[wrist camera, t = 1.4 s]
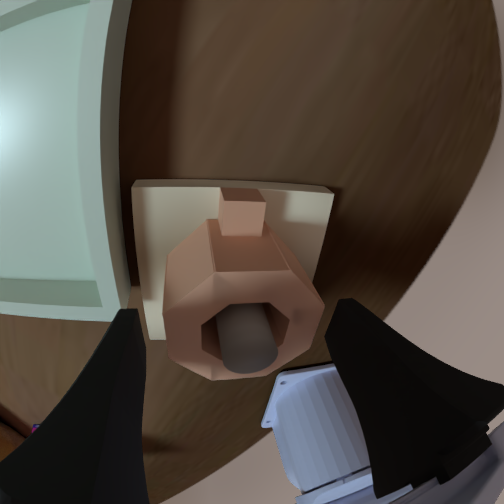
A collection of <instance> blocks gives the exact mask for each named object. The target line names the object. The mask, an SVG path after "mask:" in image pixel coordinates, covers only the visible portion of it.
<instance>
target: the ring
mask: <svg viewBox="0 0 504 504" xmlns="http://www.w3.org/2000/svg"><path fill="white" fill-rule="evenodd" d="M265 208H266V201H265V199H264V198H263V196H262V195H261V194H260V192H259V191H258V189H252V188H223V187H220V196H219V210H218V219H206V221H205V222H204V223H202V224H201V225H200V226H199V227H198V228H197V229H196V230H194V231H193V232H192V233H191V234H190V235H189V236H188V237H187V238H186V239H184V240H183V241H182V242H181V243H180V244H179V245H178V246H177V247H176V248H174V249H173V250H172V251H171V252H170V253H169V254H167V259H166V269H165V281H164V293H163V308H162V316H163V321H164V328H165V336H166V342H167V349H168V358H169V359H171V360H173V361H174V362H176V363H178V364H180V365H182V366H184V367H186V368H188V369H190V370H192V371H194V372H196V373H198V374H200V375H202V376H204V377H206V378H208V379H210V380H212V381H213V380H225V379H238V378H249V377H259V376H266V375H267V374H269V373H271V372H273V371H274V370H276V369H277V368H279V367H281V366H282V365H284V364H286V363H287V362H289V361H290V360H292V359H294V358H295V357H297V356H298V355H300V354H301V353H303V352H304V351H306V350H308V349H309V348H310V346H311V343H312V340H313V338H314V335H315V332H316V330H317V327H318V324H319V322H320V319H321V316H322V313H323V310H324V307H325V305H324V303H323V301H322V300H321V298H320V296H319V294H318V293H317V291H316V289H315V288H314V286H313V284H312V283H311V281H310V279H309V278H308V276H307V274H306V273H305V271H304V269H303V268H302V266H301V264H300V263H299V261H298V259H297V258H296V256H295V254H294V253H293V252H292V251H291V250H290V249H289V248H288V247H287V246H286V245H285V243H284V242H283V241H282V240H281V239H280V238H279V237H278V236H277V234H276V233H275V232H274V231H273V230H272V229H271V228H270V227H269V226H268V224H267V223H266V222H265V220H264V215H265ZM242 303H262V305H263V308H264V311H265V314H266V317H267V320H268V323H269V326H270V329H271V331H272V334H273V337H274V340H275V343H276V346H277V349H278V356H277V358H276V360H275V361H274V362H273V363H272V364H271V365H270V366H269V367H267V368H265V369H263V370H261V371H258V372H255V373H249V374H239V373H234V372H232V371H229V370H228V369H227V368H226V367H225V366H224V364H223V360H222V354H221V348H220V342H219V335H218V329H217V322H216V316H215V315H216V314H217V313H218V312H220V311H221V310H222V309H224V308H225V307H226V306H228V305H229V304H242Z"/></svg>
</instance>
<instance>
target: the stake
mask: <svg viewBox="0 0 504 504" xmlns="http://www.w3.org/2000/svg"><path fill="white" fill-rule="evenodd" d="M220 187H223V188H252V189H258V191H259V192H260V194H261V195H262V196H263V198H264V199H265V201H266V208H265V215H264V220H265V222H266V223H267V224H268V226H269V227H270V228H271V229H272V230H273V231H274V232H275V233H276V234H277V236H278V237H279V238H280V239H281V240H282V241H283V242H284V243H285V245H286V246H287V247H288V248H289V249H290V250H291V251H292V252H293V253H294V254H295V256H296V258H297V259H298V261H299V263H300V264H301V266H302V268H303V269H304V271H305V273H306V274H307V276H308V278H309V279H310V281H311V283H312V281H313V278H314V274H315V271H316V267H317V263H318V259H319V256H320V252H321V248H322V244H323V240H324V236H325V232H326V228H327V224H328V220H329V216H330V211H331V207H332V203H333V198H334V193H332V192H331V191H330V190H329V189H327V188H326V187H325V186H316V185H305V184H292V183H278V182H261V181H241V180H208V179H147V180H136V181H135V182H134V184H133V186H132V187H131V192H132V209H133V223H134V235H135V245H136V254H137V263H138V271H139V278H140V285H141V292H142V298H143V304H144V310H145V316H146V322H147V327H148V332H149V337H150V340H166V336H165V328H164V321H163V316H162V308H163V293H164V281H165V269H166V259H167V254H169V253H170V252H171V251H172V250H173V249H174V248H176V247H177V246H178V245H179V244H180V243H181V242H182V241H183V240H184V239H186V238H187V237H188V236H189V235H190V234H191V233H192V232H193V231H194V230H196V229H197V228H198V227H199V226H200V225H201V224H202V223H204V222H205V221H206V219H218V210H219V196H220ZM215 316H216V322H217V329H218V335H219V342H220V348H221V354H222V360H223V364H224V366H225V367H226V368H227V369H228V370H229V371H232V372H234V373H239V374H249V373H255V372H258V371H261V370H263V369H265V368H267V367H269V366H270V365H271V364H272V363H273V362H274V361H275V360H276V358H277V356H278V349H277V346H276V343H275V340H274V337H273V334H272V331H271V329H270V326H269V323H268V320H267V317H266V314H265V311H264V308H263V305H262V303H242V304H229V305H228V306H226V307H225V308H224V309H222V310H221V311H220V312H218V313H217V314H216V315H215Z"/></svg>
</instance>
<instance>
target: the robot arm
mask: <svg viewBox="0 0 504 504" xmlns="http://www.w3.org/2000/svg"><path fill="white" fill-rule="evenodd" d="M324 337H325V340H326V343H327V347H328V350H329V353H330V356H331V359H332V361H333V363H332V364H327V365H322V366H316V367H310V368H304V369H297V370H290V371H284V372H281V373H279V374H278V376H277V378H276V381H275V384H274V387H273V390H272V393H271V396H270V399H269V402H268V405H267V408H266V411H265V414H264V417H263V420H262V422H261V426H262V427H263V428H268V427H272V428H273V432H274V435H275V439H276V442H277V445H278V449H279V452H280V456H281V459H282V462H283V466H284V469H285V472H286V475H287V477H288V479H289V481H290V482H291V483H292V484H293V485H294V486H296V487H297V488H298V489H300V490H301V493H302V495H301V496H297V497H296V501H297V503H296V504H494V503H495V501H496V500H497V498H498V497H499V495H500V493H501V492H502V490H503V488H504V422H502V423H501V424H500V425H499V426H498V427H496V428H495V429H494V430H493V431H492V432H491V433H490V434H488V435H487V434H486V432H487V431H488V430H489V426H488V425H487V424H488V423H489V422H490V421H491V420H493V419H494V418H495V417H496V416H497V415H498V414H499V413H500V412H501V411H502V410H503V409H504V386H503V385H502V384H499V383H495V382H491V381H487V380H484V379H481V378H478V377H475V376H473V375H470V374H467V373H465V372H462V371H460V370H458V369H456V368H454V367H451V366H450V365H448V364H446V363H444V362H442V361H440V360H438V359H437V358H435V357H433V356H432V355H430V354H428V353H426V352H425V351H423V350H422V349H420V348H419V347H417V346H416V345H414V344H413V343H412V342H410V341H409V340H407V339H406V338H405V337H403V336H402V335H401V334H399V333H398V332H396V331H395V330H394V329H392V328H391V327H390V326H388V325H387V324H386V323H385V322H383V321H382V320H381V319H380V318H378V317H377V316H376V315H374V314H373V313H372V312H371V311H369V310H368V309H367V308H365V307H364V306H363V305H361V304H360V303H359V302H357V301H356V300H354V299H353V298H348V299H339V301H338V303H337V306H336V308H335V311H334V314H333V316H332V319H331V321H330V324H329V326H328V329H327V331H326V334H325V336H324ZM145 381H146V346H145V342H144V337H143V333H142V328H141V323H140V318H139V313H138V309H119V310H118V312H117V313H116V315H115V317H114V319H113V321H112V322H111V324H110V326H109V328H108V329H107V331H106V333H105V335H104V336H103V338H102V340H101V341H100V343H99V345H98V346H97V348H96V349H95V351H94V353H93V354H92V356H91V358H90V359H89V361H88V362H87V364H86V365H85V367H84V368H83V370H82V371H81V373H80V374H79V376H78V377H77V379H76V380H75V382H74V383H73V384H72V386H71V387H70V389H69V390H68V391H67V393H66V394H65V395H64V397H63V398H62V399H61V401H60V402H59V403H58V404H57V405H56V407H55V408H54V409H53V410H52V411H51V413H50V414H49V415H48V416H47V417H46V419H45V420H44V421H43V422H42V423H41V424H40V425H39V426H38V427H37V428H36V429H35V430H34V431H33V432H32V433H31V434H30V435H29V436H28V437H27V438H26V439H25V440H24V441H23V442H22V444H20V445H19V446H18V447H17V448H16V449H15V450H14V451H13V452H11V453H10V454H9V455H8V456H7V457H5V458H4V459H3V460H2V461H1V462H0V504H149V498H148V493H147V486H146V480H145V472H144V463H143V452H142V416H143V403H144V391H145Z"/></svg>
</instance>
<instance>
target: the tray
mask: <svg viewBox="0 0 504 504" xmlns="http://www.w3.org/2000/svg"><path fill="white" fill-rule="evenodd" d="M131 4H132V0H1V1H0V313H3V314H11V315H20V316H30V317H41V318H54V319H69V320H87V321H113V319H114V317H115V315H116V313H117V312H118V310H119V309H127V305H128V300H129V295H130V291H131V282H130V276H129V270H128V263H127V256H126V248H125V240H124V231H123V221H122V209H121V196H120V178H119V104H120V87H121V74H122V64H123V55H124V47H125V39H126V32H127V26H128V20H129V14H130V9H131Z"/></svg>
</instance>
